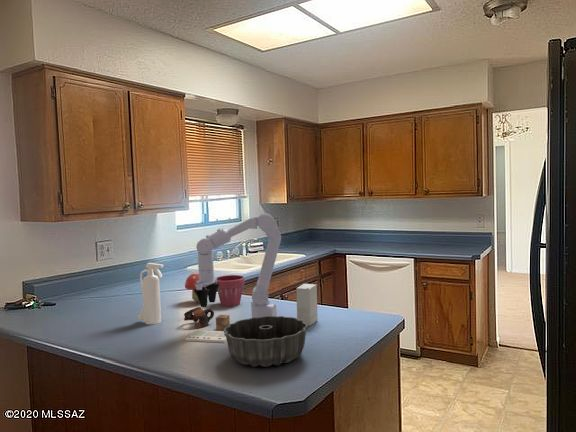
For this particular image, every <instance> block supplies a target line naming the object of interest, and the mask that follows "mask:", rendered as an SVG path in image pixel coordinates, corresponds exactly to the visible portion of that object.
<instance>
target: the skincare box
mask: <svg viewBox="0 0 576 432" xmlns="http://www.w3.org/2000/svg"><path fill="white" fill-rule="evenodd" d="M317 287H318V285H317V284H313V283H302V284H301V285H300V286H298V287H296V318H297V319H299V320H303V321H304V323H306V324H307V325H308V326H309V327H310V326H312V325H313V324H315V323H316V322H317V321H318V320H319V319H318V288H317Z"/></svg>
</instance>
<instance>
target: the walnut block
mask: <svg viewBox="0 0 576 432" xmlns="http://www.w3.org/2000/svg"><path fill="white" fill-rule="evenodd" d="M230 321H231V320H230V314H218V315H217V316H216V317H215V331H224V328H226V327H228V325H229V324H231V323H230Z"/></svg>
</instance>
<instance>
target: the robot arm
mask: <svg viewBox="0 0 576 432" xmlns="http://www.w3.org/2000/svg"><path fill="white" fill-rule="evenodd" d="M258 228H259V229H260V230H261V231H263V233H265V235H266V237H267V239H268V242H267V245H266V249H265V253H264V257H263V261H262V263H261V264H262V265H261V267H260V271H259V274H258V277H257V281H256V284H255V286H254V287H253V288H252V291H251V293H252V295H251V300H252V301H251V303H250V304H251V306H250V307H251V318H254V317H264V316H276V317H278V315H277V314H278V313H277V311H278V310H277V305H276V304H274V303H271V302H270V300H269V288H270V282H271V278H272V275H273V271H274V267H275V263H276V260H277V255H278V252H279V250H280V245H281V241H282V235H281V232H280V229H279V226H278V224H277V221H276V219H275V218H274V217H273V215H271V214H269V212H263V213H261V214H259V215H255V216H253V217H249V218H247V219H246V220H244V221H242V222H240V223H239V224H236V225H235V226H233V227H231V228H229V229H225V228H222V229H221V228H218V229H217V230H216V231H215V232H213V233H212V234H207V235H205V238H201V239H200V240H199V241H198V242H197V243H196V248H195V249H196V251H197V257H198V258H197V264H198V265H197V266H198V272H199V281H197V283H198V284H197V285H196V289H194V292H195V293H196V295H197V297H198V299H199V302H198V303H199V304H200V307H201V308H207V306H208V301H209V303H216V298H217V294H218V291H217V290H218V287H219V283H216V282H217V277H218V276H216V277H215V271H214V268H215V267H214V257H213V250H217V249H219V248H220V247H223V246H225V245H226V244H228V243H230V242H231V240H232V238H233V237H234V236H237V235H239V234H242V233H244V232H245V231H247V230H252V229H253V230H258ZM205 287H206V288H205Z"/></svg>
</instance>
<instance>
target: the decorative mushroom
mask: <svg viewBox="0 0 576 432" xmlns="http://www.w3.org/2000/svg"><path fill="white" fill-rule="evenodd" d="M197 281H199V271H195V272H192V273H191V274H189V275H188V277H186V280H185V283H184V289H186V290H188V291H191V292H192V293H191V295H192V296H191V297H192V298H191V299H192V300H193V301H194V302H195V303H200V302H199V299H198V297H197V295H196V293H195V292H194V289H196V285H197V284H198V283H197ZM205 288H206V287H205Z"/></svg>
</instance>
